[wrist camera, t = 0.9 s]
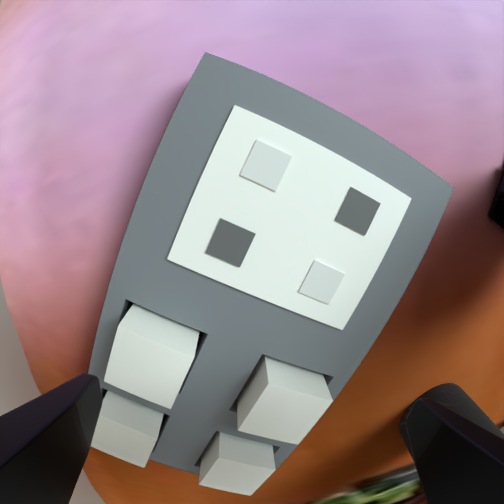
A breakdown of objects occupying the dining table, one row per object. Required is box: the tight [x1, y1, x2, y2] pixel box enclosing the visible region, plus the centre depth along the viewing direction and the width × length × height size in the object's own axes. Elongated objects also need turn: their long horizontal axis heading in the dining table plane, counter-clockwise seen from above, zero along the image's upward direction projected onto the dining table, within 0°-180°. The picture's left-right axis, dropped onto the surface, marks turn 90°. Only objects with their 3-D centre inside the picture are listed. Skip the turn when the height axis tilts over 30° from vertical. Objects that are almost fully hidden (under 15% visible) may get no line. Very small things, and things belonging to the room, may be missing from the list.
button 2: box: [91, 390, 164, 468], centre depth 18 cm, size 4×4×3 cm
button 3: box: [199, 431, 276, 496], centre depth 19 cm, size 4×4×3 cm
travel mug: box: [400, 383, 504, 460], centre depth 14 cm, size 8×8×20 cm
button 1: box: [104, 303, 200, 409], centre depth 16 cm, size 4×4×3 cm
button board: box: [88, 52, 454, 481], centre depth 18 cm, size 15×26×3 cm, turn 155°
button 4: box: [237, 354, 333, 445], centre depth 18 cm, size 4×4×3 cm
